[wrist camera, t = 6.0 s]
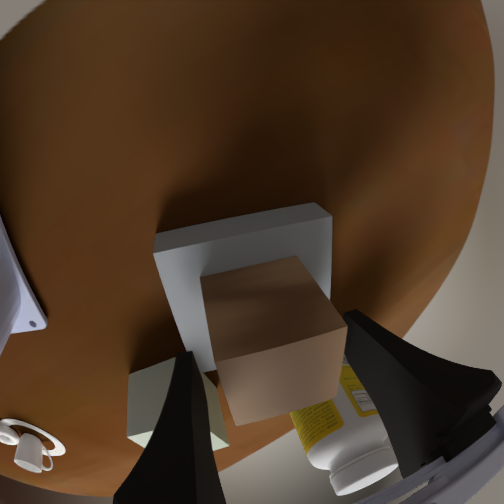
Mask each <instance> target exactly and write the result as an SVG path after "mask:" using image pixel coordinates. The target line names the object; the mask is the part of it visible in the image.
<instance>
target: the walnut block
mask: <svg viewBox="0 0 504 504" xmlns="http://www.w3.org/2000/svg"><path fill="white" fill-rule="evenodd" d="M200 284H201V290H202V296H203V302H204V308H205V314H206V320H207V325H208V331H209V336H210V342H211V347H212V352H213V358H214V363H215V366H216V369H217V372H218V375H219V378H220V381H221V384H222V387H223V390H224V393H225V396H226V399H227V402H228V404H229V407H230V410H231V413H232V416H233V419H234V421H235V424H236V426H239V425H244V424H248V423H252V422H256V421H260V420H264V419H268V418H272V417H275V416H279V415H282V414H286V413H289V412H293V411H296V410H299V409H303V408H306V407H309V406H312V405H315V404H318V403H321V402H324V401H327V400H329V399H332V398H335V397H336V396H337V391H338V386H339V380H340V374H341V368H342V362H343V356H344V349H345V343H346V336H347V328H348V326H347V324H346V323H345V321H344V320H343V319H342V317H341V316H340V314H339V313H338V312H337V310H336V309H335V307H334V306H333V305H332V303H331V302H330V300H329V299H328V298H327V296H326V295H325V293H324V292H323V291H322V289H321V288H320V287H319V285H318V284H317V282H316V281H315V280H314V278H313V277H312V276H311V274H310V273H309V271H308V270H307V269H306V267H305V266H304V265H303V263H302V262H301V261H300V259H299V258H298V256H292V257H288V258H283V259H279V260H275V261H270V262H266V263H261V264H257V265H252V266H248V267H243V268H239V269H234V270H230V271H225V272H220V273H216V274H211V275H207V276H202V277H200Z"/></svg>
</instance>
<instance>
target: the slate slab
mask: <svg viewBox="0 0 504 504" xmlns="http://www.w3.org/2000/svg"><path fill="white" fill-rule="evenodd" d="M153 255H154V258H155V261H156V265H157V268H158V271H159V274H160V277H161V280H162V283H163V287H164V290H165V293H166V296H167V299H168V301H169V304H170V307H171V310H172V313H173V316H174V319H175V322H176V324H177V327H178V330H179V332H180V335H181V338H182V341H183V343H184V346H185V348H186V351H193V354H194V357H195V360H196V363H197V365H198V368H199V371H200V373H203V372H208V371H213V370H217V369H216V366H215V363H214V358H213V352H212V347H211V342H210V336H209V331H208V325H207V320H206V314H205V308H204V302H203V296H202V290H201V284H200V277H202V276H207V275H211V274H216V273H220V272H225V271H230V270H234V269H239V268H243V267H248V266H252V265H257V264H261V263H266V262H270V261H275V260H279V259H283V258H288V257H292V256H298V258H299V259H300V261H301V262H302V263H303V265H304V266H305V267H306V269H307V270H308V271H309V273H310V274H311V276H312V277H313V278H314V280H315V281H316V282H317V284H318V285H319V287H320V288H321V289H322V291H323V292H324V293H325V295H326V296H327V298H328V299H329V300H330V289H331V264H332V216H331V215H330V214H329V213H328V212H326V211H325V210H324V209H323V208H321V207H320V206H319V205H318V204H316V203H315V202H313V203H307V204H301V205H295V206H290V207H284V208H279V209H274V210H268V211H263V212H258V213H252V214H247V215H242V216H237V217H232V218H227V219H222V220H217V221H212V222H207V223H203V224H198V225H193V226H188V227H184V228H179V229H174V230H170V231H165V232H161V233H156V234H155V242H154V250H153Z"/></svg>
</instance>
